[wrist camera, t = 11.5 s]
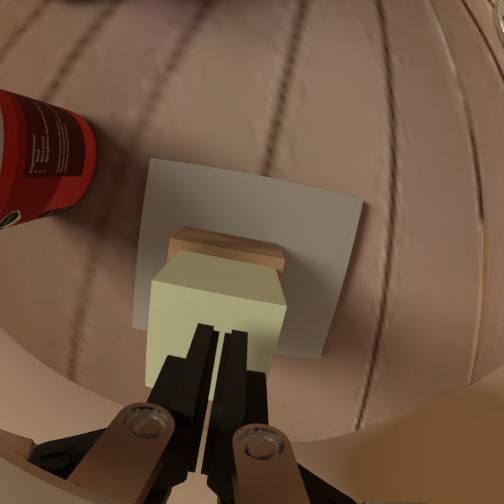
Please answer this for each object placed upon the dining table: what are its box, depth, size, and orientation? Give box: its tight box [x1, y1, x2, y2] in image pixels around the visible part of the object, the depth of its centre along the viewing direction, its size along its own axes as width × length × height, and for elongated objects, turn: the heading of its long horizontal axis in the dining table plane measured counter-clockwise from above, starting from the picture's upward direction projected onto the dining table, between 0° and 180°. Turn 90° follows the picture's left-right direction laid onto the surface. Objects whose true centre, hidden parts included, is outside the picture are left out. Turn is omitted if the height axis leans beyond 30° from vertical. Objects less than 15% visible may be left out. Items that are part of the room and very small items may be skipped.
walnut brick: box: [167, 227, 285, 282], centre depth 18 cm, size 6×6×4 cm
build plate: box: [133, 158, 364, 360], centre depth 21 cm, size 14×12×1 cm
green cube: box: [145, 250, 287, 401], centre depth 14 cm, size 5×5×5 cm
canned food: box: [0, 89, 98, 229], centre depth 14 cm, size 8×8×11 cm
